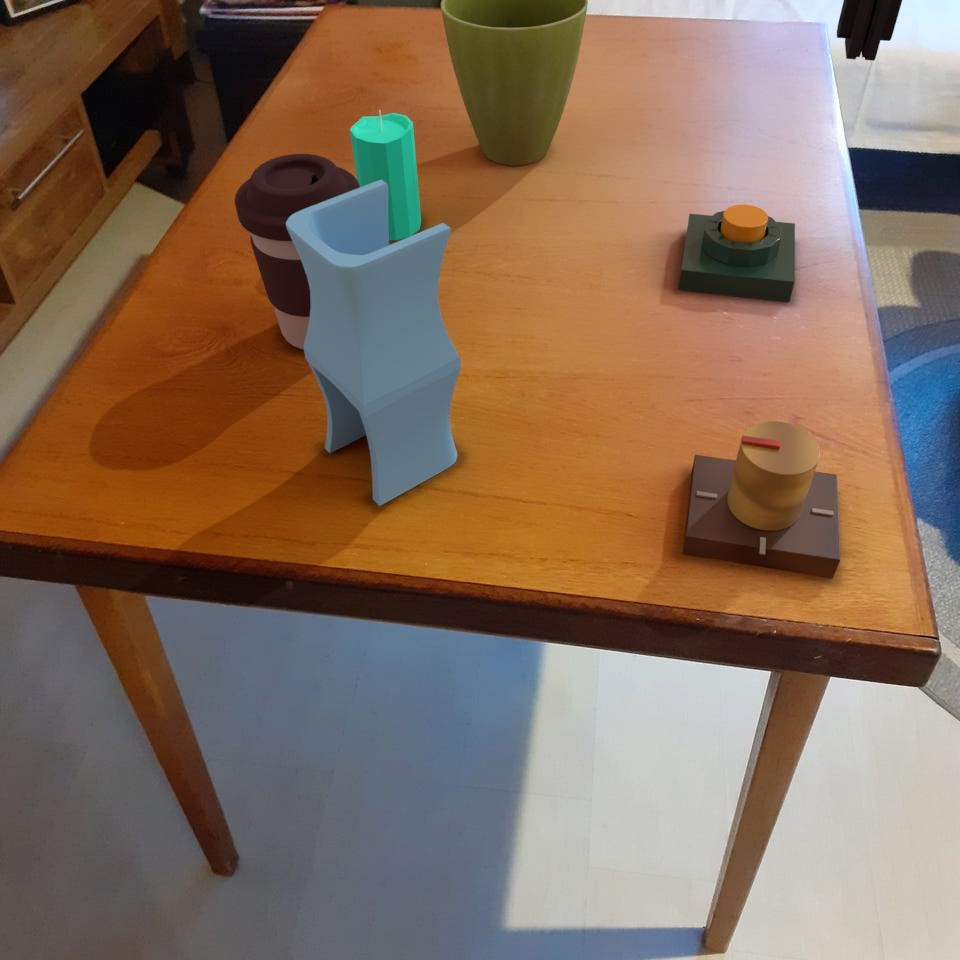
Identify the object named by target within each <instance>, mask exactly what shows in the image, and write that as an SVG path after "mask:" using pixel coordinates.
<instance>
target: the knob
mask: <svg viewBox="0 0 960 960" xmlns="http://www.w3.org/2000/svg"><path fill="white" fill-rule="evenodd" d="M820 458H821V448H820V446H819V444H818V442H817V440H816V439H815V438H814V437H813V435H812V434H810V433H809V432H808V431H807V430H805V429H804V428H802V427H800V426H797V425H795V424H792V423H789V422H786V421H779V420H777V421H776V420H770V421H769V420H768V421H762V422H758V423H755V424H754V425H751V426H750V427H749V428H747V429H746V430H745V431H744V433H743V434H742V437H741V439H740V443H739V447H738V452H737V455H736V459H735V460H736V463H735V467H734V471H733V476H732V480H731V484H730V488H729V492H728V497H727V502H728V506H729V508H730V510H731V512H732V513H733V515H734V516H735V517H736V518H737V519H738V520H740V521H741V522H743V523H744V524H746V525H748V526H750V527H752V528H756V529H759V530H765V531H777V530H782V529H785V528H788V527H790V526H791V525H793V524H794V523H795V522H796V521H797V520H798V519H799V517H800V514H801V511H802V508H803V506H804V503H805V500H806V497H807V494H808V491H809V488H810V485H811V482H812V479H813V476H814V473H815V472H816V469H817V466H818V464H819V462H820Z"/></svg>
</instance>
